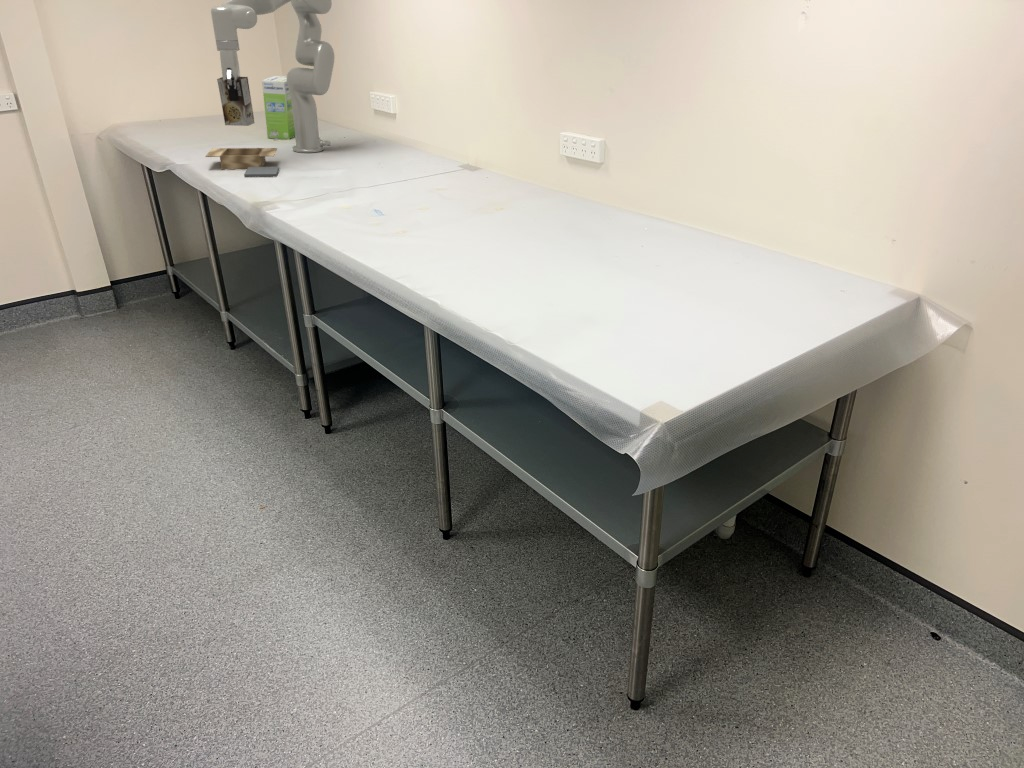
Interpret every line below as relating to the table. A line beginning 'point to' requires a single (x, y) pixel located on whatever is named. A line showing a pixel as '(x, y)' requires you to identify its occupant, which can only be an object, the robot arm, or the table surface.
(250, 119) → the coffee box
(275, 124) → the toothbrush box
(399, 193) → the table surface
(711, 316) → the table surface
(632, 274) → the table surface
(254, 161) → the carton
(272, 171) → the mat
